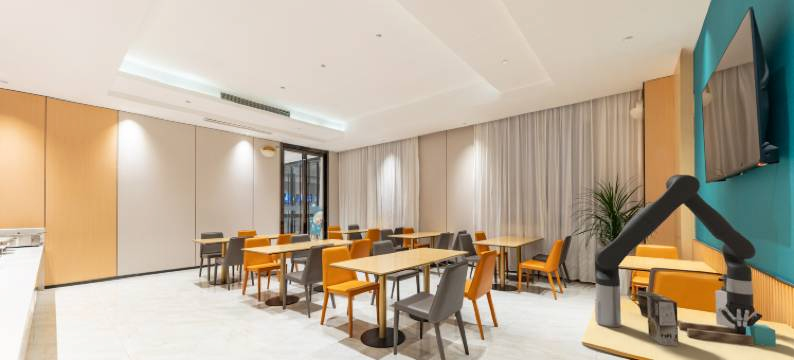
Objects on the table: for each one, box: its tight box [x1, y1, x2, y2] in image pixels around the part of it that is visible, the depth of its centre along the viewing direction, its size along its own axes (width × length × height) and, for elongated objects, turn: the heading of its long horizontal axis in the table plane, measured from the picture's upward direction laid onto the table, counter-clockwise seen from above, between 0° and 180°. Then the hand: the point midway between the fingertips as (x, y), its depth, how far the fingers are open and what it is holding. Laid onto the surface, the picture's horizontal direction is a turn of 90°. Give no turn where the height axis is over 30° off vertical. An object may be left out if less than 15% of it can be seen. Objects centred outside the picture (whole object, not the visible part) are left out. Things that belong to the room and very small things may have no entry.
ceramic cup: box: [628, 291, 662, 318], centre depth 165 cm, size 13×10×10 cm
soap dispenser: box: [715, 273, 735, 328], centre depth 153 cm, size 6×9×22 cm
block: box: [746, 323, 777, 347], centre depth 134 cm, size 6×6×6 cm
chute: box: [678, 321, 755, 346], centre depth 140 cm, size 20×10×3 cm, turn 69°
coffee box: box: [647, 295, 679, 347], centre depth 135 cm, size 9×6×16 cm
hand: (740, 335), depth 137 cm, fingers closed
